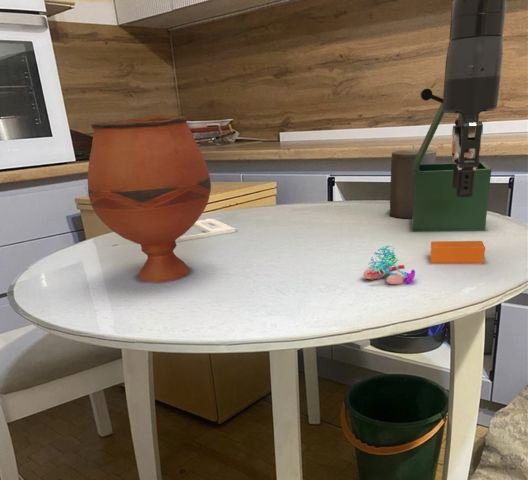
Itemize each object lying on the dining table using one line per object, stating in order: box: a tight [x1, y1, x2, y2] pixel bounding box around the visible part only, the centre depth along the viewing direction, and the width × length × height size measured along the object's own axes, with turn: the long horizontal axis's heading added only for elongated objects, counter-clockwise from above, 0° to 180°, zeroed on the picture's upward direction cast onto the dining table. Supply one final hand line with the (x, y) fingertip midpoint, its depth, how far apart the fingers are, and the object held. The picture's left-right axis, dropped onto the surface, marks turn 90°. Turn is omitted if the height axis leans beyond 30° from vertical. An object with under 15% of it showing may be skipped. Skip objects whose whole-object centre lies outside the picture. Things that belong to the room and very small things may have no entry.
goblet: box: [87, 115, 212, 283], centre depth 86 cm, size 19×19×25 cm
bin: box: [411, 161, 492, 233], centre depth 108 cm, size 14×12×12 cm
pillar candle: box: [388, 145, 437, 219], centre depth 120 cm, size 10×10×15 cm
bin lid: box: [414, 88, 446, 171], centre depth 103 cm, size 14×12×5 cm
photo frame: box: [175, 218, 236, 243], centre depth 120 cm, size 15×1×18 cm
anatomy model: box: [362, 245, 416, 285], centre depth 80 cm, size 5×8×7 cm
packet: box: [429, 240, 486, 264], centre depth 87 cm, size 4×8×3 cm, turn 76°
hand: (461, 192), depth 83 cm, fingers open, 8 cm apart
